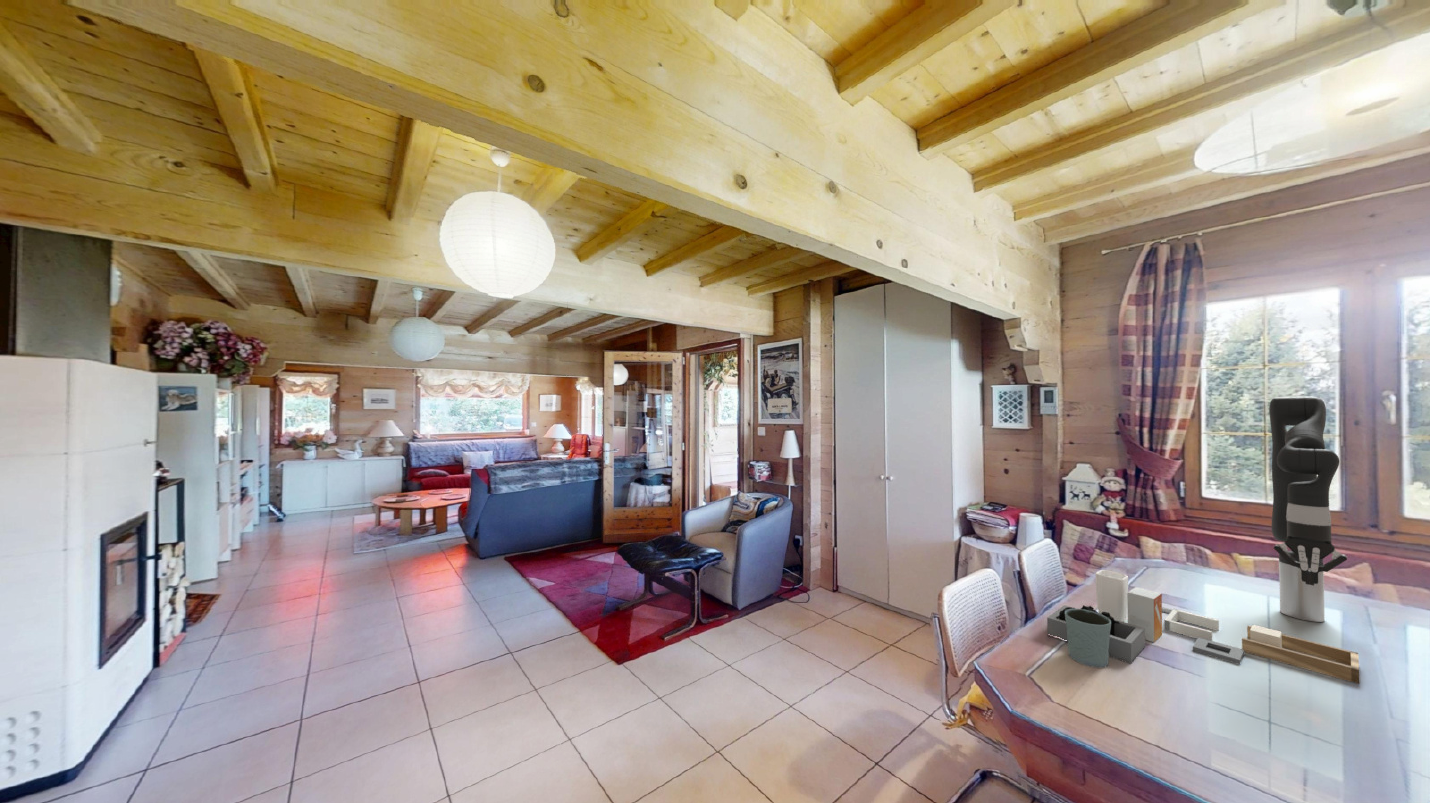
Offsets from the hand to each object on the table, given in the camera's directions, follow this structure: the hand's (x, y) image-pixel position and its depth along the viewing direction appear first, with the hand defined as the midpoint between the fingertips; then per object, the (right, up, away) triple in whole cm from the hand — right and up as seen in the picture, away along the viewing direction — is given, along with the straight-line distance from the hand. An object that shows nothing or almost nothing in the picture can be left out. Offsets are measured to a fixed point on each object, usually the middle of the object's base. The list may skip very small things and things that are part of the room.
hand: (1309, 584), depth 127 cm
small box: (-31, -22, +15) cm, 41 cm away
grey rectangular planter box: (-50, -22, +12) cm, 55 cm away
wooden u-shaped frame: (-2, -21, +2) cm, 21 cm away
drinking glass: (-60, -22, +2) cm, 64 cm away
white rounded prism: (-32, -22, +25) cm, 47 cm away
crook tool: (-8, -22, +27) cm, 35 cm away
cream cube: (-5, -22, +6) cm, 23 cm away
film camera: (-51, -22, +11) cm, 56 cm away
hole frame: (-20, -21, +5) cm, 30 cm away
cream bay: (-14, -22, +18) cm, 31 cm away
